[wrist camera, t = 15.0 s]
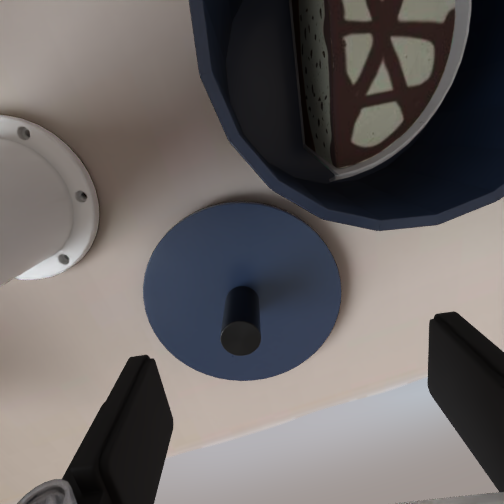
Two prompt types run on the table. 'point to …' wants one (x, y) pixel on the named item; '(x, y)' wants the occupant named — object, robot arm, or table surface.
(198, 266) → the pot lid
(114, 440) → the robot arm
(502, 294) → the table surface
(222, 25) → the pot
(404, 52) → the food container
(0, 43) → the table surface
